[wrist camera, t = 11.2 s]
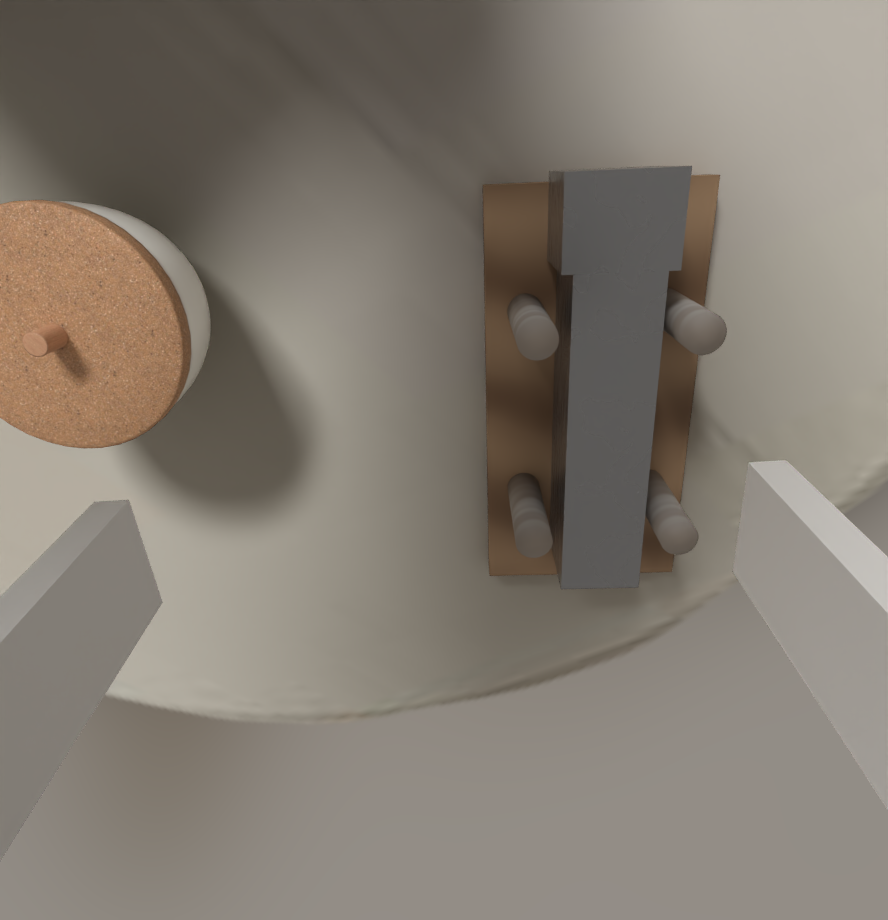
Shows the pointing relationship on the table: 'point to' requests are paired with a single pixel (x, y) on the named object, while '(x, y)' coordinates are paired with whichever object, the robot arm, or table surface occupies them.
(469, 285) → the table surface
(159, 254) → the lidded jar
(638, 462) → the grey notched bar
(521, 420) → the rack
